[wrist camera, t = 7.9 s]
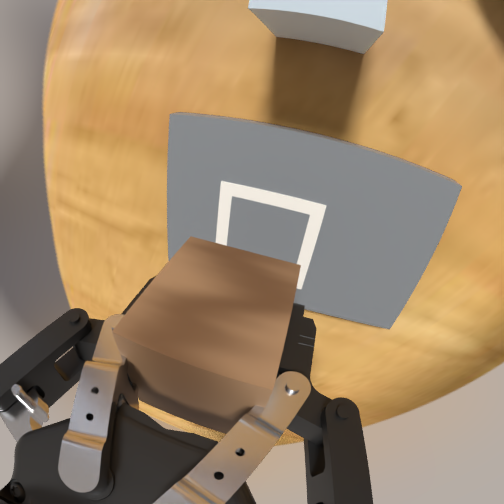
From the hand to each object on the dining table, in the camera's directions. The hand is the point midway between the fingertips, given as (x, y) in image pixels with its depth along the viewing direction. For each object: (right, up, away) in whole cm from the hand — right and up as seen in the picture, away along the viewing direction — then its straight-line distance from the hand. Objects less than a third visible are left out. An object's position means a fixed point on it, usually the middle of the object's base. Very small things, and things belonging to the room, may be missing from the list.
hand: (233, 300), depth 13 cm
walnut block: (0, 0, +1) cm, 1 cm away
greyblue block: (+5, +16, -2) cm, 17 cm away
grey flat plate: (+4, +4, +5) cm, 8 cm away
